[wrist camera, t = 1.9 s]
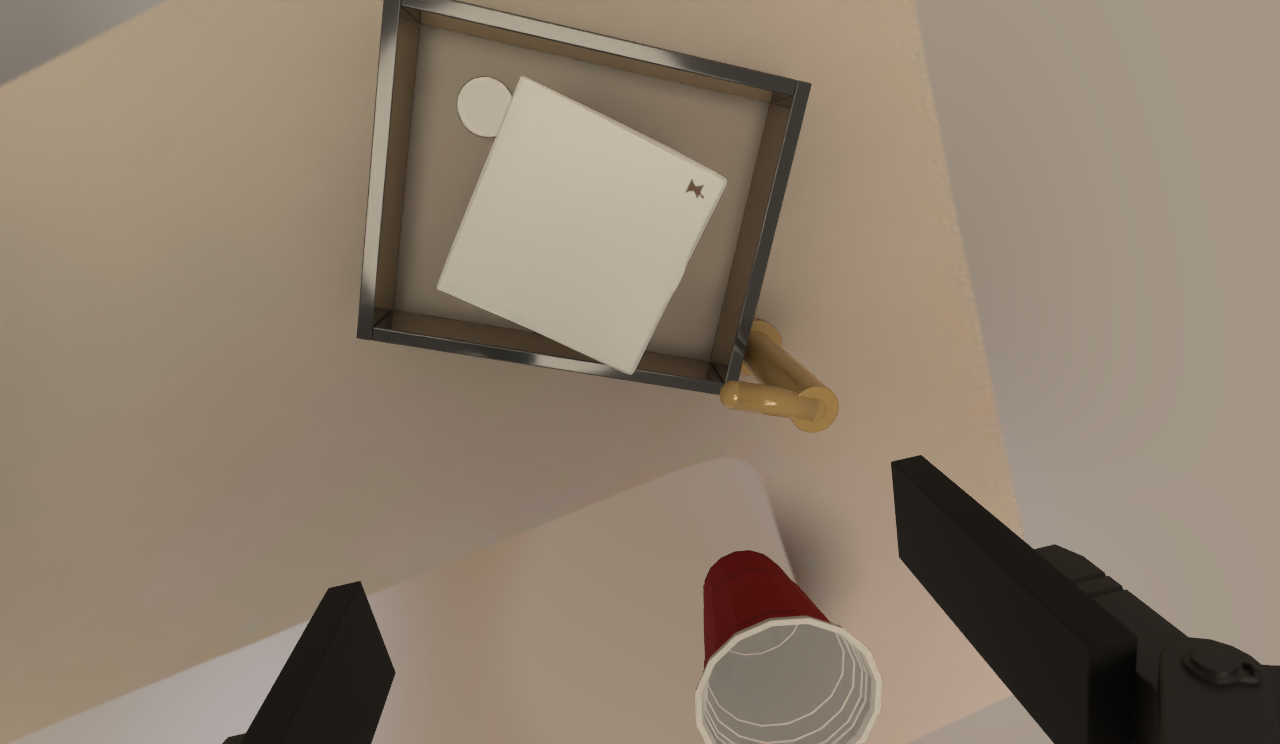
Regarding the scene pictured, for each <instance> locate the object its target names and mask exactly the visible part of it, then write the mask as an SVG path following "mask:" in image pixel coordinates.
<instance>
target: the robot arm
mask: <svg viewBox="0 0 1280 744" xmlns="http://www.w3.org/2000/svg"><path fill="white" fill-rule="evenodd" d="M891 467H892V479H893V491H894V503H895V515H896V526H897V538H898V550H899V558H900V559H901V560H902V561H903V562H904V564H905V565H906V566H907V567H908V568H909V570H910V571H911V572H912V573H913V574H914V576H915V577H916V578H917V579H918V580H919V582H920V583H921V584H922V585H923V586H924V588H925V589H926V590H927V591H928V592H929V594H930V595H931V596H932V597H933V598H934V600H935V601H936V602H937V603H938V604H939V606H940V607H941V608H942V609H943V610H944V612H945V613H946V614H947V615H948V616H949V618H950V619H951V620H952V621H953V622H954V624H955V625H956V626H957V627H958V628H959V630H960V631H961V632H962V633H963V634H964V636H965V637H966V638H967V639H968V640H969V642H970V643H971V644H972V645H973V646H974V648H975V649H976V650H977V651H978V653H979V654H980V655H981V656H982V657H983V659H984V660H985V661H986V662H987V663H988V665H989V666H990V667H991V668H992V669H993V671H994V672H995V673H996V674H997V675H998V677H999V678H1000V679H1001V680H1002V681H1003V683H1004V684H1005V685H1006V686H1007V687H1008V689H1009V690H1010V691H1011V692H1012V693H1013V695H1014V696H1015V697H1016V698H1017V699H1018V701H1019V702H1020V703H1021V704H1022V705H1023V706H1024V708H1025V709H1026V710H1027V711H1028V713H1029V714H1030V715H1031V716H1032V717H1033V719H1034V720H1035V721H1036V722H1037V723H1038V725H1039V726H1040V727H1041V728H1042V729H1043V731H1044V732H1045V733H1046V734H1047V735H1048V737H1049V738H1050V739H1051V740H1052V741H1053V743H1054V744H1280V666H1270V665H1261V664H1260V663H1259V662H1257V661H1256V660H1255V659H1254V658H1253V657H1251V656H1250V655H1248V654H1246V653H1244V652H1242V651H1240V650H1239V649H1237V648H1235V647H1233V646H1230V645H1227V644H1224V643H1220V642H1217V641H1214V640H1210V639H1200V638H1189V637H1187V636H1186V635H1185V634H1184V633H1182V632H1181V631H1180V630H1178V629H1177V628H1176V627H1174V626H1173V625H1172V624H1171V623H1169V622H1168V621H1167V620H1165V619H1164V618H1163V617H1161V616H1160V615H1159V614H1157V613H1156V612H1155V611H1154V610H1152V609H1151V608H1150V607H1148V606H1147V605H1146V604H1145V603H1143V602H1142V601H1141V600H1139V599H1138V598H1137V597H1136V596H1134V595H1133V594H1132V593H1130V592H1129V591H1128V590H1123V588H1122V586H1121V585H1120V584H1119V583H1117V582H1116V581H1115V580H1113V579H1112V578H1111V577H1110V576H1106V575H1105V573H1104V572H1103V571H1102V570H1100V569H1099V568H1098V567H1096V566H1095V565H1094V564H1092V563H1091V562H1090V561H1089V560H1087V559H1086V558H1085V557H1084V556H1081V555H1079V554H1076V553H1074V552H1072V551H1069V550H1067V549H1065V548H1062V547H1060V546H1058V545H1051V546H1046V547H1042V548H1038V549H1033V548H1031V547H1030V546H1029V545H1028V544H1027V543H1026V542H1024V541H1023V540H1022V539H1021V538H1020V537H1018V536H1017V535H1016V534H1015V533H1014V532H1012V531H1011V530H1010V529H1009V528H1008V527H1006V526H1005V525H1004V524H1003V523H1002V522H1001V521H999V520H998V519H997V518H996V517H995V516H993V515H992V514H991V513H990V512H989V511H987V510H986V509H985V508H984V507H983V506H981V505H980V504H979V503H978V502H977V501H975V500H974V499H973V498H972V497H971V496H969V495H968V494H967V493H966V492H965V491H963V490H962V489H961V488H960V487H959V486H957V485H956V484H955V483H954V482H953V481H951V480H950V479H949V478H948V477H947V476H945V475H944V474H943V473H942V472H941V471H940V470H938V469H937V468H936V467H935V466H934V465H932V464H931V463H930V462H929V461H928V460H926V459H925V458H924V457H923V456H922V455H919V456H915V457H910V458H906V459H902V460H897V461H893V462H891ZM394 676H395V670H394V667H393V665H392V662H391V660H390V657H389V654H388V652H387V649H386V647H385V645H384V641H383V639H382V636H381V634H380V631H379V629H378V626H377V623H376V621H375V618H374V615H373V613H372V610H371V608H370V605H369V602H368V600H367V597H366V594H365V592H364V589H363V587H362V584H361V581H358V582H354V583H349V584H345V585H341V586H336V587H332V588H328V590H327V592H326V593H325V595H324V597H323V599H322V600H321V602H320V604H319V606H318V608H317V609H316V611H315V613H314V615H313V616H312V618H311V620H310V622H309V623H308V625H307V627H306V629H305V630H304V632H303V634H302V636H301V637H300V639H299V641H298V643H297V644H296V646H295V648H294V650H293V652H292V653H291V655H290V657H289V659H288V660H287V662H286V664H285V666H284V667H283V669H282V671H281V673H280V675H279V676H278V678H277V680H276V681H275V683H274V685H273V687H272V688H271V690H270V692H269V694H268V695H267V698H266V699H265V701H264V703H263V704H262V706H261V708H260V710H259V711H258V713H257V715H256V717H255V719H254V720H253V722H252V724H251V725H250V727H249V729H248V731H247V732H246V733H245V734H241V735H236V736H232V737H228V738H227V739H226V740H225V741H224V743H223V744H371V743H372V740H373V737H374V734H375V731H376V728H377V725H378V722H379V719H380V716H381V713H382V710H383V708H384V705H385V702H386V699H387V696H388V693H389V690H390V687H391V684H392V681H393V679H394Z"/></svg>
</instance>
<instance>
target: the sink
mask: <svg viewBox="0 0 1280 744" xmlns="http://www.w3.org/2000/svg"><path fill="white" fill-rule="evenodd" d="M420 23H421V24H423V25H428V26H432V27H436V28H441V29H445V30H450V31H454V32H458V33H463V34H467V35H472V36H476V37H480V38H485V39H489V40H494V41H498V42H502V43H507V44H511V45H516V46H520V47H524V48H529V49H533V50H538V51H542V52H546V53H551V54H555V55H560V56H564V57H568V58H573V59H577V60H582V61H586V62H590V63H595V64H599V65H604V66H608V67H612V68H617V69H621V70H626V71H630V72H634V73H639V74H643V75H648V76H652V77H657V78H661V79H665V80H670V81H674V82H679V83H683V84H687V85H692V86H696V87H701V88H705V89H709V90H714V91H718V92H723V93H727V94H731V95H736V96H740V97H745V98H749V99H753V100H758V101H762V102H767V103H770V105H769V109H768V114H767V118H766V122H765V127H764V131H763V135H762V139H761V144H760V148H759V152H758V157H757V161H756V165H755V170H754V174H753V178H752V182H751V187H750V191H749V195H748V200H747V204H746V208H745V212H744V217H743V221H742V225H741V230H740V234H739V238H738V243H737V247H736V251H735V255H734V260H733V264H732V268H731V273H730V277H729V281H728V285H727V290H726V294H725V298H724V303H723V307H722V311H721V316H720V320H719V324H718V328H717V333H716V337H715V341H714V346H713V350H712V354H711V358H710V362H708V361H702V360H696V359H690V358H684V357H678V356H672V355H666V354H659V353H653V352H647V351H644V353H643V355H642V357H641V359H640V361H639V363H638V365H637V367H636V369H635V371H634V373H633V374H631V375H629V374H626V373H624V372H621V371H619V370H617V369H615V368H613V367H610V366H608V365H606V364H604V363H602V362H599V361H597V360H595V359H593V358H591V357H589V356H587V355H584V354H582V353H580V352H578V351H576V350H574V349H571V348H569V347H567V346H565V345H563V344H561V343H559V342H557V341H554V340H552V339H550V338H548V337H546V336H544V335H542V334H538V333H531V332H525V331H519V330H513V329H507V328H501V327H495V326H489V325H483V324H477V323H471V322H464V321H458V320H452V319H446V318H440V317H434V316H428V315H422V314H416V313H410V312H403V311H397V310H393V306H394V295H395V284H396V274H397V263H398V253H399V242H400V231H401V221H402V210H403V200H404V189H405V178H406V168H407V157H408V147H409V136H410V125H411V115H412V104H413V94H414V83H415V73H416V62H417V51H418V41H419V30H420ZM810 89H811V83H807V82H803V81H799V80H798V81H797V80H794V79H790V78H786V77H781V76H777V75H773V74H768V73H764V72H760V71H756V70H751V69H747V68H743V67H739V66H734V65H730V64H726V63H721V62H717V61H713V60H709V59H704V58H700V57H696V56H692V55H687V54H683V53H679V52H674V51H670V50H666V49H662V48H657V47H653V46H649V45H645V44H640V43H636V42H632V41H627V40H623V39H619V38H615V37H610V36H606V35H602V34H598V33H593V32H589V31H585V30H580V29H576V28H572V27H568V26H563V25H559V24H555V23H551V22H546V21H542V20H538V19H533V18H529V17H525V16H521V15H516V14H512V13H508V12H504V11H499V10H495V9H491V8H486V7H482V6H478V5H474V4H469V3H465V2H461V1H457V0H384V2H383V14H382V27H381V39H380V52H379V64H378V77H377V89H376V102H375V114H374V127H373V139H372V152H371V164H370V177H369V189H368V202H367V214H366V227H365V239H364V252H363V264H362V277H361V289H360V302H359V314H358V327H357V338H359V339H366V340H373V341H379V342H386V343H392V344H399V345H405V346H411V347H418V348H424V349H430V350H437V351H443V352H450V353H456V354H462V355H469V356H475V357H482V358H488V359H494V360H501V361H507V362H513V363H520V364H526V365H533V366H539V367H545V368H552V369H558V370H564V371H571V372H577V373H584V374H590V375H596V376H603V377H609V378H615V379H622V380H628V381H635V382H641V383H647V384H654V385H660V386H666V387H673V388H679V389H686V390H692V391H698V392H705V393H711V394H717V395H719V397H720V401H721V403H722V404H723V405H724V406H725V407H727V408H729V409H732V410H739V411H745V412H752V413H758V414H765V415H771V416H778V417H784V418H789V419H790V420H791V421H792V422H793V423H794V425H795V426H796V427H797V428H799V429H800V430H802V431H805V432H810V433H814V432H819V431H822V430H824V429H826V428H828V427H829V426H830V425H831V424H832V423H833V422H834V420H835V419H836V417H837V414H838V409H839V404H838V400H837V397H836V396H835V394H834V393H833V392H832V391H831V390H830V389H829V388H828V387H826V386H825V385H824V384H823V383H822V382H821V381H820V380H818V379H817V378H816V377H815V376H814V375H813V374H812V373H810V372H809V371H808V370H807V369H806V368H805V367H804V366H802V365H801V364H800V363H799V362H798V361H797V360H796V359H794V358H793V357H792V356H791V355H790V354H789V353H788V352H786V351H785V350H784V349H783V348H782V342H781V338H780V335H779V334H778V332H777V331H776V329H775V328H774V327H772V326H771V325H770V324H769V323H767V322H765V321H763V320H759V319H754V315H755V311H756V307H757V303H758V299H759V295H760V291H761V287H762V283H763V279H764V275H765V271H766V267H767V262H768V258H769V254H770V250H771V246H772V242H773V238H774V234H775V230H776V226H777V222H778V218H779V214H780V210H781V206H782V202H783V198H784V194H785V190H786V186H787V182H788V178H789V173H790V169H791V165H792V161H793V157H794V153H795V149H796V145H797V141H798V137H799V133H800V129H801V125H802V121H803V117H804V113H805V109H806V105H807V101H808V97H809V93H810ZM511 98H512V95H511V93H510V91H509V90H508V88H507V87H506V86H505V85H504V84H503V83H501V82H500V81H498V80H496V79H494V78H491V77H477V78H474V79H472V80H470V81H468V82H467V83H466V84H465V85H464V86H463V87H462V89H461V91H460V93H459V95H458V100H457V110H458V114H459V117H460V119H461V121H462V123H463V124H464V126H465V127H466V128H467V129H468V130H469V131H471V132H472V133H474V134H476V135H478V136H481V137H496V135H497V133H498V130H499V128H500V125H501V123H502V120H503V118H504V115H505V113H506V110H507V108H508V106H509V103H510V101H511ZM740 373H742V374H745V375H753V377H754V378H755V379H756V380H757V381H758V382H759V384H755V383H748V382H742V381H738V380H739V376H740Z"/></svg>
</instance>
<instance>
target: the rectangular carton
mask: <svg viewBox="0 0 1280 744" xmlns="http://www.w3.org/2000/svg"><path fill="white" fill-rule="evenodd" d="M726 184H727V179H726V178H725V177H724V176H722V175H720V174H718V173H716V172H715V171H713V170H711V169H709V168H708V167H706V166H704V165H702V164H700V163H698V162H696V161H695V160H693V159H691V158H689V157H687V156H685V155H683V154H682V153H680V152H678V151H676V150H674V149H672V148H670V147H668V146H666V145H664V144H662V143H660V142H658V141H656V140H654V139H652V138H650V137H648V136H646V135H644V134H642V133H640V132H638V131H636V130H634V129H632V128H630V127H628V126H626V125H624V124H622V123H620V122H618V121H616V120H614V119H612V118H610V117H608V116H606V115H604V114H602V113H599V112H597V111H595V110H593V109H591V108H589V107H587V106H585V105H583V104H581V103H579V102H577V101H575V100H573V99H571V98H568V97H566V96H564V95H562V94H560V93H558V92H556V91H554V90H552V89H550V88H548V87H546V86H544V85H542V84H540V83H538V82H536V81H534V80H532V79H530V78H528V77H526V76H521V77H520V79H519V81H518V83H517V86H516V88H515V91H514V93H513V96H512V98H511V101H510V103H509V106H508V108H507V110H506V113H505V115H504V118H503V120H502V123H501V125H500V128H499V130H498V133H497V135H496V137H495V140H494V142H493V145H492V147H491V150H490V152H489V155H488V157H487V160H486V162H485V165H484V167H483V170H482V172H481V175H480V177H479V180H478V182H477V185H476V187H475V190H474V192H473V195H472V197H471V200H470V202H469V205H468V207H467V210H466V212H465V215H464V217H463V220H462V222H461V225H460V227H459V230H458V232H457V235H456V237H455V240H454V242H453V245H452V247H451V250H450V252H449V255H448V258H447V260H446V263H445V265H444V268H443V270H442V273H441V276H440V278H439V281H438V283H437V287H436V288H437V290H439V291H442V292H445V293H448V294H450V295H452V296H454V297H457V298H459V299H461V300H463V301H466V302H468V303H470V304H472V305H475V306H477V307H480V308H482V309H484V310H486V311H489V312H491V313H494V314H496V315H498V316H501V317H503V318H505V319H508V320H510V321H512V322H515V323H517V324H519V325H521V326H524V327H526V328H528V329H530V330H533V331H535V332H537V333H539V334H542V335H544V336H546V337H548V338H550V339H552V340H554V341H557V342H559V343H561V344H563V345H565V346H567V347H569V348H571V349H574V350H576V351H578V352H580V353H582V354H584V355H587V356H589V357H591V358H593V359H595V360H597V361H599V362H602V363H604V364H606V365H608V366H610V367H613V368H615V369H617V370H619V371H621V372H624V373H626V374H629V375H631V374H633V373H634V371H635V369H636V367H637V365H638V363H639V361H640V359H641V357H642V355H643V353H644V351H645V349H646V347H647V345H648V343H649V341H650V339H651V337H652V335H653V333H654V331H655V329H656V327H657V325H658V323H659V321H660V319H661V317H662V315H663V313H664V311H665V309H666V307H667V305H668V303H669V301H670V299H671V297H672V295H673V293H674V292H675V290H676V289H677V287H678V285H679V283H680V281H681V279H682V276H683V274H684V271H685V268H686V266H687V264H688V262H689V260H690V258H691V256H692V254H693V252H694V250H695V248H696V246H697V244H698V242H699V240H700V238H701V236H702V234H703V231H704V229H705V227H706V225H707V223H708V221H709V220H710V218H711V216H712V214H713V212H714V210H715V208H716V205H717V203H718V201H719V199H720V197H721V195H722V193H723V191H724V189H725V187H726Z"/></svg>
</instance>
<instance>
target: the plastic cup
mask: <svg viewBox="0 0 1280 744" xmlns="http://www.w3.org/2000/svg"><path fill="white" fill-rule="evenodd" d="M703 587H704V643H705V661H704V671H703V674H702V676H701V679H700V681H699V683H698V685H697V688H696V692H695V699H696V700H695V702H696V726H697V728H698V729H699V731H700V733H701V735H702V737H703V739H704V741H705V743H706V744H862V743H864V742H865V741H866V739H867V737H868V735H869V733H870V731H871V729H872V727H873V725H874V723H875V721H876V719H877V717H878V715H879V713H880V710H881V690H882V678H881V676H880V674H879V671H878V669H877V667H876V665H875V662H874V660H873V658H872V655H871V653H870V651H869V650H868V649H867V648H866V647H865V646H864V645H862V644H861V643H860V642H859V641H858V640H857V639H855V638H854V637H853V636H852V635H851V634H849V633H848V632H847V631H846V630H845V629H844V628H842V627H841V626H839V625H836V624H833V623H831V622H830V621H829V620H828V619H827V618H826V617H825V616H824V614H823V613H822V612H821V611H820V610H819V609H818V608H817V607H816V606H815V604H814V603H813V602H812V601H811V600H810V599H809V598H808V597H807V595H806V594H805V593H804V592H803V591H802V590H801V589H800V588H799V586H798V585H797V584H796V583H794V582H793V581H792V580H790V578H789V577H788V576H787V575H786V574H785V573H784V572H783V570H782V569H781V568H780V567H779V566H778V565H777V564H776V563H774V562H773V561H772V560H771V559H770V558H768V557H767V556H765V555H764V554H761V553H758V552H754V551H750V550H748V551H737V552H733V553H731V554H729V555H727V556H724V557H722V558H721V559H719V560H718V561H717V562H716V563H715V564H714V565H713V566H712V567H711V568H710V570H709V572H708V575H707V577H706V579H705V584H704V586H703Z"/></svg>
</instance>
